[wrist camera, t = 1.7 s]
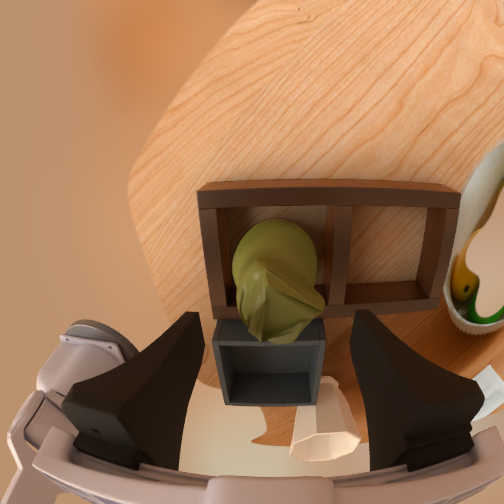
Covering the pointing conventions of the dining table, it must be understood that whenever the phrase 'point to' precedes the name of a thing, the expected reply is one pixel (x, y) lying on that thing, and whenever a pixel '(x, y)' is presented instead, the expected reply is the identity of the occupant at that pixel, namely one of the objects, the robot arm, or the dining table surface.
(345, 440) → the cup
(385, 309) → the rack
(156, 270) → the dining table surface
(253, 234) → the olive cloth sack
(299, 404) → the tub
